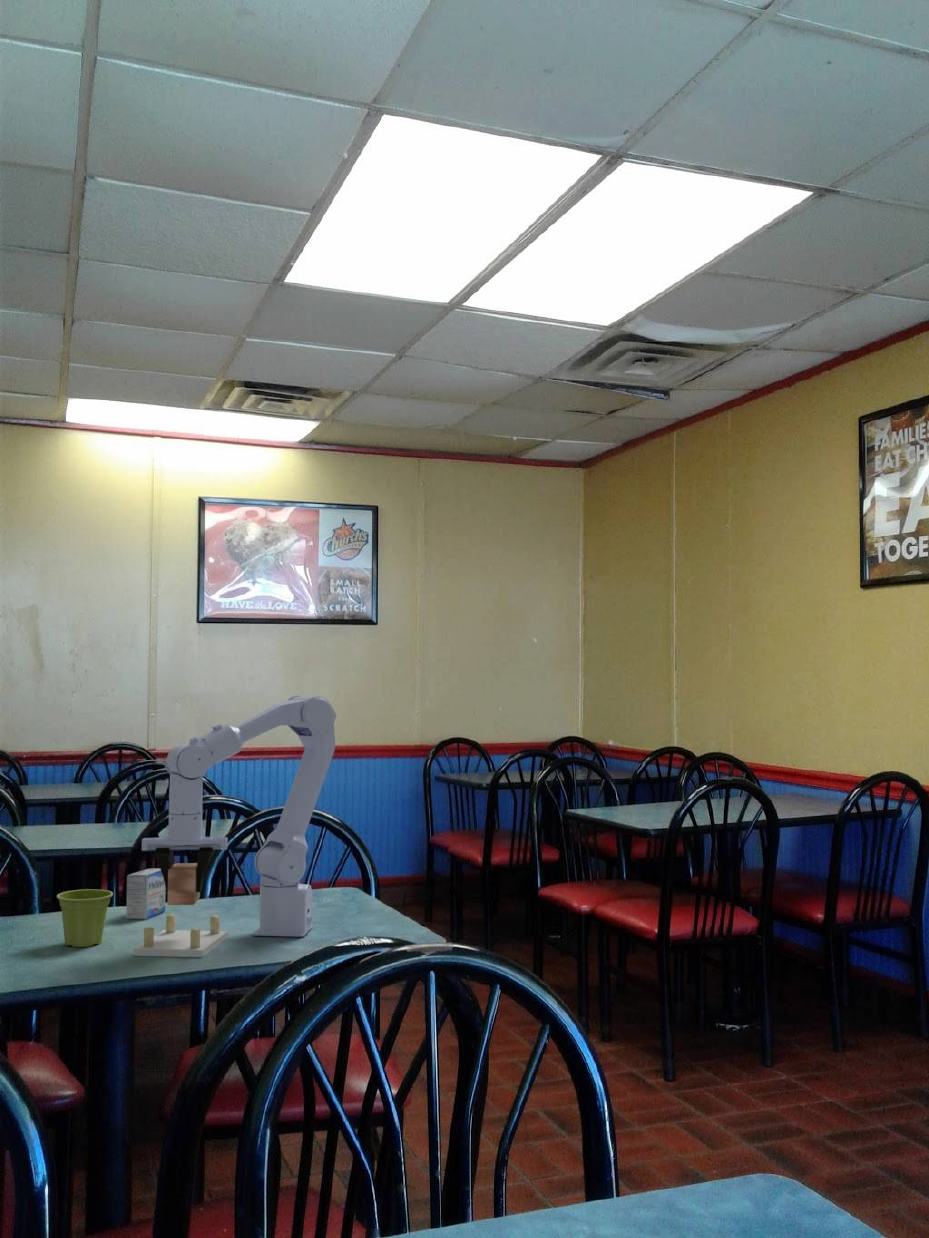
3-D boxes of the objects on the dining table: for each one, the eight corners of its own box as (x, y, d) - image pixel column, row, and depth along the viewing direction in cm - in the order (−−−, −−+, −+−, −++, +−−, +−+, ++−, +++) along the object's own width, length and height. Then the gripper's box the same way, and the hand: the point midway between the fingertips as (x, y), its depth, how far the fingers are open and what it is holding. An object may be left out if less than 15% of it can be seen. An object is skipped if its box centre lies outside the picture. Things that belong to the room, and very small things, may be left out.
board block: (199, 896, 192) (200, 863, 193) (194, 904, 185) (194, 869, 186) (174, 897, 192) (174, 863, 192) (167, 905, 185) (168, 869, 185)
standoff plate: (227, 938, 194) (228, 914, 194) (202, 957, 180) (203, 931, 180) (163, 936, 195) (163, 913, 195) (133, 955, 181) (134, 930, 181)
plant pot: (111, 936, 195) (112, 887, 196) (112, 947, 186) (113, 897, 187) (56, 939, 192) (57, 890, 193) (54, 951, 183) (55, 900, 184)
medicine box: (146, 920, 209) (147, 875, 209) (125, 919, 210) (126, 874, 210) (165, 911, 216) (166, 868, 217) (145, 910, 217) (146, 867, 218)
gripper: (230, 810, 194) (228, 886, 193) (147, 810, 192) (146, 887, 192) (225, 814, 187) (223, 893, 186) (140, 815, 185) (138, 895, 185)
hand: (184, 891), depth 188 cm, fingers closed on board block, 4 cm apart
